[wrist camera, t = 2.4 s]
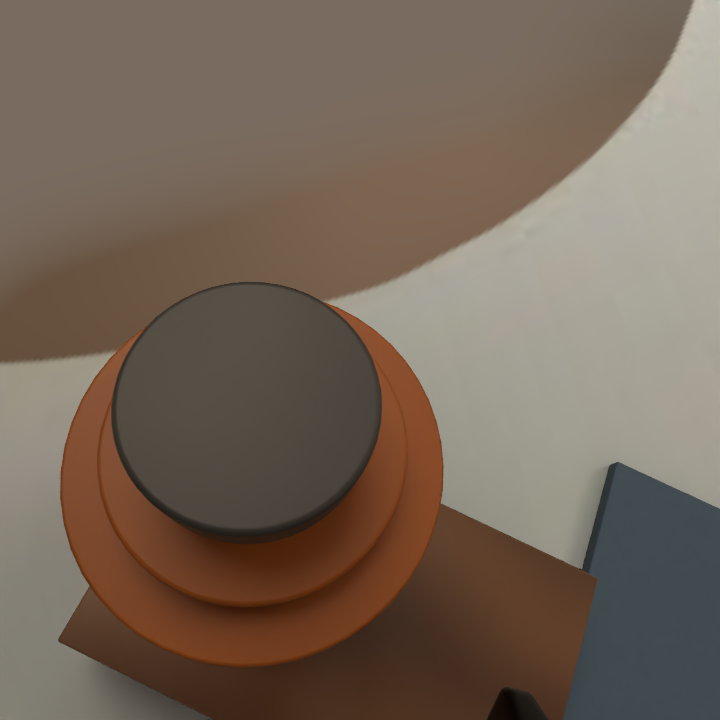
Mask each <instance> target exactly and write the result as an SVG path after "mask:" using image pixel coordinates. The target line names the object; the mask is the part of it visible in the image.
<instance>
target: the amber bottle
mask: <svg viewBox="0 0 720 720" xmlns="http://www.w3.org/2000/svg"><path fill="white" fill-rule="evenodd" d="M442 491H443V456H442V446H441V440H440V435H439V431H438V426H437V422H436V419H435V416H434V413H433V410H432V408H431V405H430V402H429V399H428V397H427V396H426V394H425V392H424V390H423V388H422V386H421V384H420V382H419V380H418V378H417V377H416V375H415V374H414V373H413V371H412V370H411V368H410V367H409V365H408V364H407V362H406V361H405V360H404V359H403V357H402V356H401V355H400V354H399V353H398V352H397V351H396V350H395V348H394V347H393V346H392V345H391V344H390V343H389V342H388V341H387V340H385V339H384V338H383V337H382V336H381V335H380V334H379V333H378V332H376V331H375V330H374V329H372V328H371V327H370V326H368V325H367V324H365V323H364V322H362V321H361V320H360V319H358V318H356V317H354V316H353V315H351V314H349V313H347V312H345V311H343V310H341V309H339V308H337V307H335V306H332V305H330V304H327V303H324V302H322V301H320V300H318V299H316V298H314V297H312V296H311V295H309V294H306V293H304V292H301V291H298V290H296V289H293V288H289V287H285V286H281V285H277V284H270V283H263V282H240V283H230V284H225V285H220V286H215V287H211V288H208V289H205V290H202V291H199V292H197V293H195V294H192V295H190V296H188V297H186V298H184V299H182V300H180V301H179V302H177V303H175V304H174V305H172V306H170V307H169V308H168V309H167V310H165V311H164V312H162V313H161V314H160V315H159V316H158V317H156V318H155V319H154V320H153V321H152V322H151V323H150V324H149V325H148V326H146V327H145V328H144V329H142V330H141V331H140V332H139V333H137V334H136V335H135V336H133V337H132V338H131V339H130V340H128V341H127V342H126V343H125V344H124V345H123V346H122V347H121V348H120V349H119V350H118V351H117V352H116V353H115V354H114V355H113V356H112V357H111V358H110V359H109V360H108V362H107V363H106V364H105V365H104V367H103V368H102V369H101V371H100V372H99V373H98V374H97V376H96V377H95V378H94V380H93V382H92V383H91V385H90V387H89V388H88V390H87V392H86V393H85V395H84V397H83V398H82V400H81V403H80V405H79V407H78V409H77V412H76V414H75V416H74V418H73V421H72V423H71V427H70V430H69V433H68V437H67V440H66V444H65V447H64V454H63V461H62V467H61V491H60V499H61V506H62V514H63V522H64V526H65V530H66V533H67V537H68V541H69V544H70V548H71V551H72V553H73V555H74V557H75V559H76V562H77V564H78V566H79V568H80V571H81V573H82V575H83V576H84V578H85V579H86V581H87V582H88V584H89V585H90V587H91V588H92V590H93V592H94V593H95V595H96V596H97V597H98V598H99V600H100V601H101V602H102V603H103V604H104V605H105V606H106V607H107V609H108V610H109V611H110V612H111V613H112V614H113V615H114V616H115V617H116V618H117V619H118V620H119V621H121V622H122V623H123V624H124V625H125V626H127V627H128V628H129V629H130V630H131V631H133V632H134V633H135V634H136V635H138V636H140V637H142V638H143V639H145V640H147V641H148V642H150V643H152V644H153V645H155V646H157V647H158V648H160V649H163V650H165V651H167V652H170V653H172V654H175V655H177V656H180V657H182V658H185V659H188V660H192V661H197V662H201V663H205V664H209V665H214V666H225V667H236V668H248V667H265V666H273V665H278V664H283V663H288V662H293V661H297V660H300V659H303V658H306V657H309V656H311V655H314V654H317V653H320V652H323V651H325V650H327V649H329V648H331V647H332V646H334V645H336V644H338V643H340V642H342V641H344V640H346V639H348V638H349V637H351V636H352V635H354V634H355V633H356V632H358V631H359V630H361V629H362V628H363V627H365V626H366V625H368V624H369V623H371V622H372V621H373V620H374V619H375V618H376V617H377V616H378V615H379V614H380V613H381V612H382V611H383V610H384V609H386V608H387V607H388V606H389V605H390V604H391V603H392V601H393V600H394V599H395V598H396V596H397V595H398V594H399V593H400V592H401V590H402V589H403V588H404V587H405V586H406V584H407V583H408V581H409V580H410V578H411V576H412V575H413V573H414V572H415V570H416V568H417V567H418V565H419V564H420V562H421V560H422V558H423V556H424V553H425V551H426V549H427V547H428V545H429V542H430V540H431V538H432V534H433V531H434V528H435V525H436V521H437V518H438V515H439V509H440V503H441V497H442Z"/></svg>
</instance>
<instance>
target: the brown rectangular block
mask: <svg viewBox="0 0 720 720" xmlns="http://www.w3.org/2000/svg"><path fill="white" fill-rule="evenodd" d="M597 581H598V578H597V577H595V576H593V575H591V574H589V573H587V572H585V571H583V570H581V569H578V568H576V567H574V566H572V565H570V564H568V563H566V562H564V561H561V560H559V559H557V558H555V557H553V556H551V555H549V554H547V553H545V552H542V551H540V550H538V549H536V548H534V547H532V546H530V545H528V544H526V543H523V542H521V541H519V540H517V539H515V538H513V537H511V536H509V535H506V534H504V533H502V532H500V531H498V530H496V529H494V528H492V527H490V526H487V525H485V524H483V523H481V522H479V521H477V520H475V519H473V518H470V517H468V516H466V515H464V514H462V513H460V512H458V511H456V510H454V509H451V508H449V507H447V506H445V505H443V504H441V503H440V509H439V515H438V518H437V521H436V525H435V528H434V531H433V534H432V538H431V540H430V542H429V545H428V547H427V549H426V551H425V553H424V556H423V558H422V560H421V562H420V564H419V565H418V567H417V568H416V570H415V572H414V573H413V575H412V576H411V578H410V580H409V581H408V583H407V584H406V586H405V587H404V588H403V589H402V590H401V592H400V593H399V594H398V595H397V596H396V598H395V599H394V600H393V601H392V603H391V604H390V605H389V606H388V607H387V608H386V609H384V610H383V611H382V612H381V613H380V614H379V615H378V616H377V617H376V618H375V619H374V620H373V621H372V622H371V623H369V624H368V625H366V626H365V627H363V628H362V629H361V630H359V631H358V632H356V633H355V634H354V635H352V636H351V637H349V638H348V639H346V640H344V641H342V642H340V643H338V644H336V645H334V646H332V647H331V648H329V649H327V650H325V651H323V652H320V653H317V654H314V655H311V656H309V657H306V658H303V659H300V660H297V661H293V662H288V663H283V664H278V665H273V666H265V667H248V668H236V667H225V666H214V665H209V664H205V663H201V662H197V661H192V660H188V659H185V658H182V657H180V656H177V655H175V654H172V653H170V652H167V651H165V650H163V649H160V648H158V647H157V646H155V645H153V644H152V643H150V642H148V641H147V640H145V639H143V638H142V637H140V636H138V635H136V634H135V633H134V632H133V631H131V630H130V629H129V628H128V627H127V626H125V625H124V624H123V623H122V622H121V621H119V620H118V619H117V618H116V617H115V616H114V615H113V614H112V613H111V612H110V611H109V610H108V609H107V607H106V606H105V605H104V604H103V603H102V602H101V601H100V600H99V598H98V597H97V596H96V595H95V593H94V592H93V590H92V588H91V587H89V588H88V590H87V592H86V593H85V595H84V597H83V598H82V600H81V602H80V603H79V605H78V607H77V608H76V610H75V612H74V613H73V615H72V617H71V618H70V620H69V622H68V623H67V625H66V627H65V628H64V630H63V632H62V633H61V635H60V637H59V638H58V641H59V642H60V643H62V644H64V645H66V646H68V647H70V648H72V649H74V650H76V651H78V652H80V653H82V654H84V655H86V656H88V657H90V658H92V659H94V660H96V661H98V662H100V663H102V664H104V665H106V666H108V667H110V668H112V669H114V670H116V671H118V672H120V673H122V674H124V675H126V676H128V677H130V678H132V679H134V680H136V681H138V682H140V683H142V684H144V685H146V686H148V687H150V688H152V689H154V690H156V691H158V692H160V693H162V694H164V695H166V696H168V697H170V698H172V699H174V700H176V701H178V702H180V703H182V704H184V705H186V706H188V707H190V708H192V709H194V710H196V711H198V712H200V713H202V714H204V715H206V716H208V717H210V718H212V719H214V720H487V718H488V716H489V713H490V711H491V709H492V707H493V705H494V703H495V701H496V699H497V696H498V694H499V692H500V691H501V689H502V688H504V687H511V688H516V689H520V690H525V691H527V692H529V693H530V694H531V695H532V696H533V697H534V698H535V700H536V701H537V703H538V704H539V706H540V707H541V709H542V710H543V712H544V713H545V715H546V716H547V718H548V719H549V720H563V717H564V713H565V709H566V705H567V701H568V697H569V693H570V689H571V685H572V681H573V677H574V673H575V669H576V665H577V661H578V657H579V653H580V649H581V645H582V641H583V637H584V633H585V629H586V625H587V621H588V617H589V613H590V609H591V605H592V601H593V597H594V593H595V589H596V585H597Z"/></svg>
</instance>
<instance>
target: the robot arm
mask: <svg viewBox="0 0 720 720" xmlns="http://www.w3.org/2000/svg"><path fill="white" fill-rule="evenodd" d="M487 720H549V719H548V718H547V716H546V715H545V713H544V712H543V710H542V709H541V707H540V706H539V704H538V703H537V701H536V700H535V698H534V697H533V696H532V695H531V694H530V693H529V692H527V691H525V690H520V689H516V688H511V687H504V688H502V689H501V691H500V692H499V694H498V696H497V699H496V701H495V703H494V705H493V707H492V709H491V711H490V713H489V716H488V718H487Z"/></svg>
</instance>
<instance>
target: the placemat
mask: <svg viewBox="0 0 720 720" xmlns="http://www.w3.org/2000/svg"><path fill="white" fill-rule="evenodd" d="M582 570H583V571H585V572H587V573H589V574H591V575H593V576H595V577H597V578H598V581H597V585H596V589H595V593H594V597H593V601H592V605H591V609H590V613H589V617H588V621H587V625H586V629H585V633H584V637H583V641H582V645H581V649H580V653H579V657H578V661H577V665H576V669H575V673H574V677H573V681H572V685H571V689H570V693H569V697H568V701H567V705H566V709H565V713H564V717H563V720H720V509H719V508H717V507H714V506H712V505H710V504H708V503H706V502H704V501H701V500H699V499H697V498H695V497H693V496H691V495H688V494H686V493H684V492H682V491H680V490H678V489H675V488H673V487H671V486H669V485H667V484H665V483H662V482H660V481H658V480H656V479H654V478H652V477H649V476H647V475H645V474H643V473H641V472H638V471H636V470H634V469H632V468H630V467H628V466H625V465H623V464H621V463H619V462H616V463H614V464H611V465H610V467H609V470H608V474H607V478H606V482H605V486H604V489H603V493H602V497H601V501H600V505H599V508H598V512H597V516H596V520H595V524H594V527H593V531H592V535H591V539H590V543H589V546H588V550H587V554H586V558H585V562H584V565H583V569H582Z"/></svg>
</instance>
